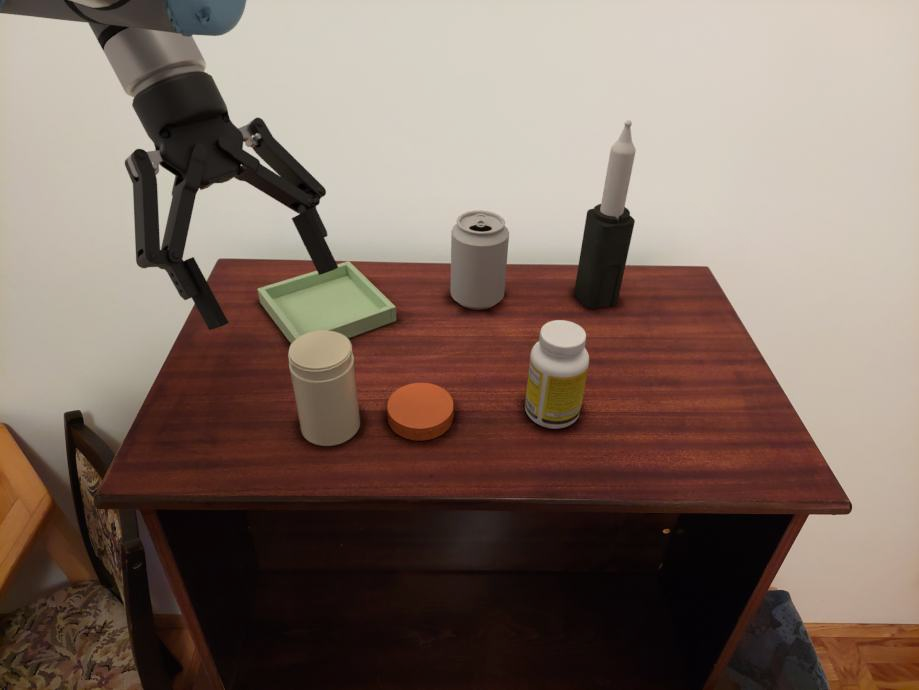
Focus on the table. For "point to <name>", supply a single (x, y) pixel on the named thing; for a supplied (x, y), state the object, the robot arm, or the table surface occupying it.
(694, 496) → the table surface
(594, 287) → the candle
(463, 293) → the can
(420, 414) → the lid
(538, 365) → the pill bottle
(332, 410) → the jar
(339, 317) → the tray
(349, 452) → the table surface
